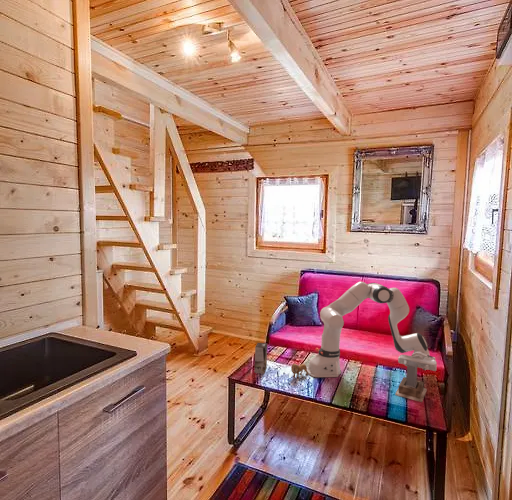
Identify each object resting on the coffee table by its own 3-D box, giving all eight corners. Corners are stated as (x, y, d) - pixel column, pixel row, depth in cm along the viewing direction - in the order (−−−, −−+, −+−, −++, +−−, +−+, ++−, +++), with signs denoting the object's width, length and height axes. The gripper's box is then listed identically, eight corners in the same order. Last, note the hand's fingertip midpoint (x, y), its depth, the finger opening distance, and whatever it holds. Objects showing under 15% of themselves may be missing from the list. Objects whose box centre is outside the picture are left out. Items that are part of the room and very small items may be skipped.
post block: (395, 394, 176) (395, 385, 176) (401, 384, 190) (401, 375, 189) (422, 402, 169) (422, 392, 169) (426, 390, 182) (426, 381, 182)
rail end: (405, 392, 178) (406, 365, 177) (408, 387, 184) (409, 360, 183) (414, 394, 175) (415, 367, 174) (416, 389, 181) (417, 362, 180)
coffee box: (264, 374, 199) (265, 347, 198) (254, 372, 200) (254, 346, 200) (267, 368, 208) (267, 343, 207) (257, 367, 209) (257, 342, 209)
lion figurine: (296, 381, 190) (296, 366, 189) (288, 378, 193) (289, 363, 193) (310, 374, 201) (310, 359, 200) (302, 371, 204) (303, 357, 204)
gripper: (400, 350, 203) (395, 357, 192) (438, 358, 192) (435, 365, 180) (400, 360, 204) (395, 367, 192) (437, 368, 192) (434, 376, 181)
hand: (415, 366), depth 186 cm, fingers open, 8 cm apart
